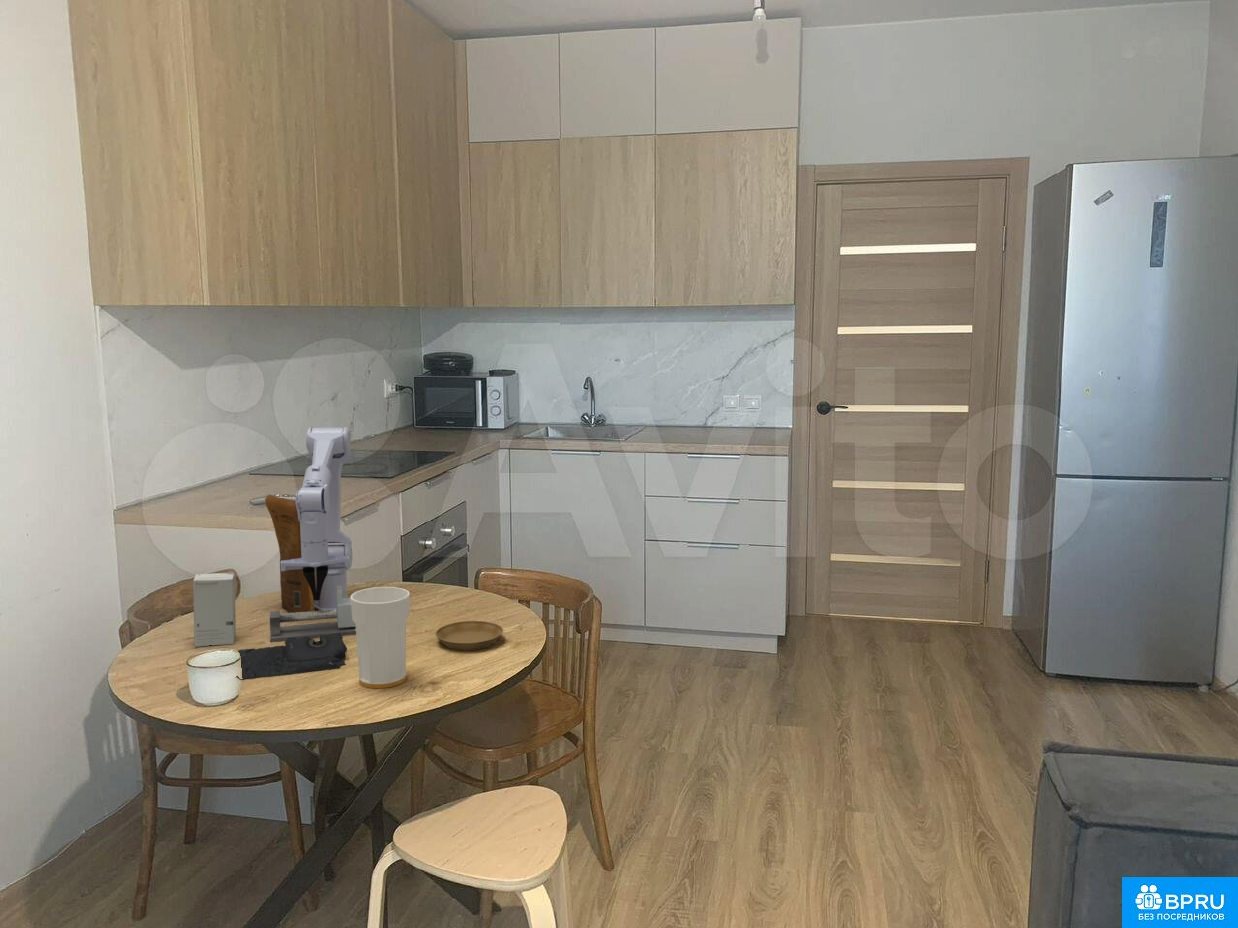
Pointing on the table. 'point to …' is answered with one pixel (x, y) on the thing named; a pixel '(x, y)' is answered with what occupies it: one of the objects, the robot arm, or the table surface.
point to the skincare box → (214, 609)
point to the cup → (381, 635)
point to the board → (311, 631)
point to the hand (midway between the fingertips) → (316, 599)
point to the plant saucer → (469, 634)
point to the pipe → (297, 618)
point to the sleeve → (344, 610)
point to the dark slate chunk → (294, 657)
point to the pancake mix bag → (290, 554)
